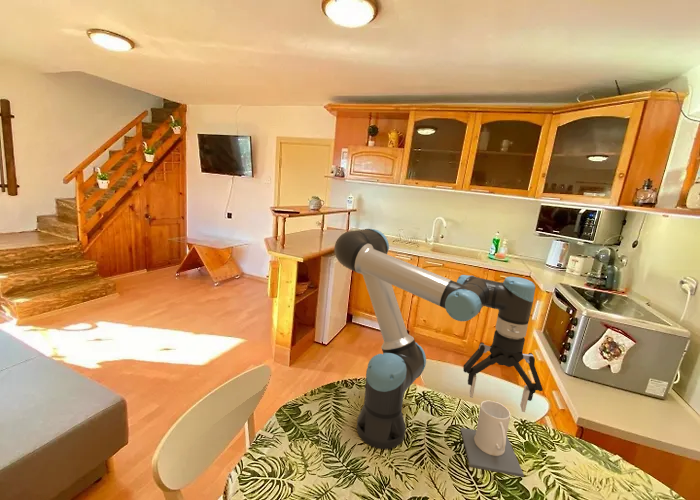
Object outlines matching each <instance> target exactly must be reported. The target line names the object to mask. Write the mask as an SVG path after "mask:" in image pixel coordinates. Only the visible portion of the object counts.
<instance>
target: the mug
mask: <svg viewBox="0 0 700 500" xmlns="http://www.w3.org/2000/svg"><path fill="white" fill-rule="evenodd" d="M510 418H511V412H510V409H508V408H507V407H506V406H505V405H504V404H502V403H500V402H498V401H494V400H489V399H488V400H484V401H483V400H482V401H481V403H480V407H479V412H478V419H477V425H476V429H475V430H476V435H475V437H474V441H475V444H476V445H477V447H478V448H479V449H480V450H482V451H483V452H485V453H487V454H489V455H493V456H500V455H502V454H503V453H504V452H505V445H506V436H507V437H508V431H509V430H508V429H509V424H510Z"/></svg>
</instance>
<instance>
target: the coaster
mask: <svg viewBox="0 0 700 500" xmlns="http://www.w3.org/2000/svg"><path fill="white" fill-rule="evenodd" d="M476 430H477V429H471V428H464V427H460V435H461V437H462V441H463V445H464V449H465V453H466V454H465V455H466V457H467V461H468V465H469V468H474V469H480V470H485V471H488V472H489V471H490V472H495V473H501V474H505V475H511V476H516V477H522V478H524V476H525V474H524V471H523V470H522V468H521V465H520V462H519V461H518V460H519V459H518V458H517V456H516V454H515V451H514V449H513V447H512V445H511V442H510V440H509V438H508V435H507V436H506V445H505V452H504V453H503V454H502V455H500V456H493V455H489V454H487V453H485V452H483V451H482V450H480V449H479V448H478V447H477V445H476V444H475V441H474V437H475V435H476Z"/></svg>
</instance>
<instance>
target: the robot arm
mask: <svg viewBox="0 0 700 500" xmlns="http://www.w3.org/2000/svg"><path fill="white" fill-rule="evenodd" d="M389 249H390V245H389V240H388V239H387V236H386V235H385V234H384V233H383V232H382V231H380V230H378V229H373V228H364V229H359V230H349V231H346V232H344V233H342V234H341V235H339V237H338V238H337V239H336V241H335V243H334V256H335V257H336V260H337V262H339V263H340V264H341V265H342V266H344V267H345V268H346V269H348V270H351V271H353V272H355V273H357V274H361V275H362V277H363V280H364V283H365V286H366V291H367V293H368V295H369V298H370V302H371V305H372V308H373V311H374V314H375V318H376V321H377V324H378V326H379V327H378V328H379V331H380V334H381V337H382V340H383V342H382V344H381V351H382V353H378V354H376V355H373V356H372V357H371V359H369V361H368V363H367V368H366V373H365V388H364V401H363V403H364V404H363V405H362V408H361V410H360V412H359V414H358V417H357V420H356V431H357V434H358V436H359V438H360V439H361V441H362V442H364V443H365V444H367V445H369V446H370V447H372V448H376V449H379V450H389V449H394V448H396V447H398V446H399V445H401V444H402V442H403V441H404V439H405V437H406V424H405V420H404V416H403V412H402V410H403V403H404V402H403V401H404V394H405V392H406V391H407V390H409V388H410V387H411V386H412V384H413V383H414V382H415V381H416V380H417V379H418V378H420V376H422V374H423V372H424V370H425V368H426V365H427V356H426V353H425V350H424V348H423V347H422V346H421V345H419V343H418V342H416V340H415V338H414V336H412V335H410V334H409V333H408V330H407V327H406V324H405V321H404V318H403V314H402V311H401V309H400V307H399V302H398V300H397V297H396V295H395V294H396V293H395V291H394V287H396V288H398V289H401V290H403V291H406V292H407V293H409V294H412V295H414V296H416V297H419V298H421V299H423V300H426V301H427V302H430V303H431V304H435V305H436V306H439V307H441V308H443V309H445V312H446V313H447V314H448V316H449V317H450V318H452V319H453V320H455V321H458V322H467V321H469V320H473V318H475V317H476V316H477V315H478V314H479V313H480V312H481V310H482V308H483V307H486V308H489V309H494V310H498V313H497V319H496V323H495V330H494V334H493V338H492V343H491V345H486V344H485V343H484V342H483V341H481V342H480V343H479V345H478V349H476V350H475V352H474V353H473V354H472V355H471V356H470V357H469V359H468V360H467V361H465V363H464V364H463V367H462V368H463V372H464V373H466V374H468V377H467V385H468V386H470V387H469V397H470V398H474V393H475V387H476V381H477V374H479V373H480V372H482V371H484V370H485V369H487V368H488V367H490V366H493V365H495V364H497V365H499V366H504V367H508V368H512V367H514V369H515V370H516V371H517V373H518V374H519V375H520V377H521V379H522V381H523V382H524V383H525V385H524V387H523V391H522V396H521V401H520V408H521V409H520V410H521V412H523V413H526V410H527V404H528V402H531V401H533V397H534V394H535V393H536V391H538V392H543V390H544V389H543V385H542V383H541V380H540V378H539V375H538V374H539V373H538V371H537V369H536V366H535V363H536V358H535V356H534V354H533V353H532V352H529V353H523V350H524V348H525V347H524V346H525V341H526V339H525V337H526V336H527V331H528V327H529V321H530V318H531V313H532V309H533V304H534V298H535V292H536V285H535V283H534V282H533V281H531V280H529V279H527V278H525V277H524V278H523V277H518V276H506V277H505V278H504V281H503V282H502V281H501V282H500V281H494V280H490V279H486V278H482V277H477V276H474V275H468V274H461V275H460V276H458V278H457V279H456V281H453V280H452V279H451V278H448V277H445V276H443V275H440V274H437V273H435V272H432V271H430V270H427V269H425V268H423V267H419V266H418V265H414V264H412V263H409V262H407V261H404V260H402V259H400V258H398V257H395V256H393V255H389V254H388V252H389ZM393 286H394V287H393ZM487 352H489V353H490V354H489V355H488V356H487V357H486V358H484V359H483V360H481V361H480V362H478V361H479V360H480V359H481V357H482V356H483V354H486V353H487ZM522 360H525V362H526V363H527V364H528V367H529V370H530V371H531V374H532V377H533V380H534V383H533V382H532V381H531V379H530V378H529V376H528V374H527V373H526V371H524V368H522V366H521V364H520V362H521V361H522ZM477 362H478V363H477Z"/></svg>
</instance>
